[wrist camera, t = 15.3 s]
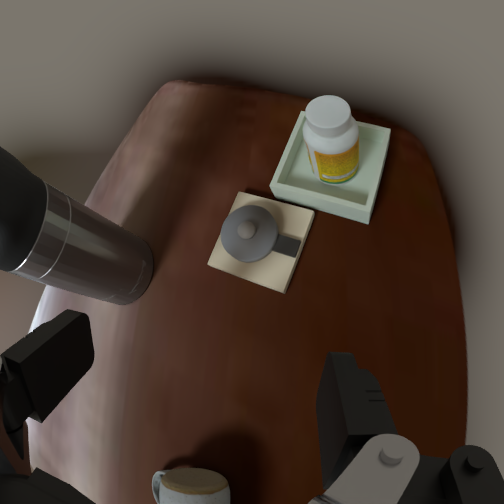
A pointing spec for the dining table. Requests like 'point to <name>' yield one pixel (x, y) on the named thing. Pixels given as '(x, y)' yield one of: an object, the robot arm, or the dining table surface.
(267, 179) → the dining table surface
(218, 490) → the ceramic mug
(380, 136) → the tray
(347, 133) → the supplement bottle
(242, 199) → the beige board with disc
